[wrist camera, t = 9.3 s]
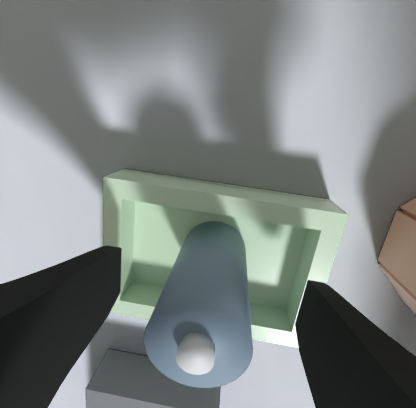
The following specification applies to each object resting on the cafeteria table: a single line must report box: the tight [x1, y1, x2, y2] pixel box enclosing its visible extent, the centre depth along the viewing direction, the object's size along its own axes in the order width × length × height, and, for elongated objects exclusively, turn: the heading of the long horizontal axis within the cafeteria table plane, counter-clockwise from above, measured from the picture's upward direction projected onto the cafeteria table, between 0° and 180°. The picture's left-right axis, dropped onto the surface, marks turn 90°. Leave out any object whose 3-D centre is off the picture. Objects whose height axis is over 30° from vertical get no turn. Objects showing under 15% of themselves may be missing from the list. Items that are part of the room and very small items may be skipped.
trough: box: [103, 169, 349, 348], centre depth 12 cm, size 10×7×2 cm
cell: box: [144, 221, 253, 388], centre depth 9 cm, size 3×3×6 cm
